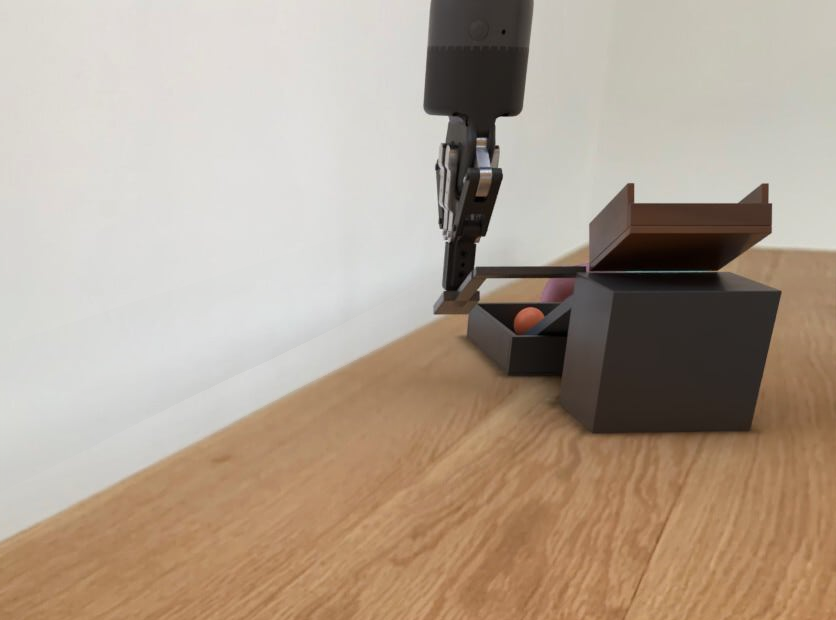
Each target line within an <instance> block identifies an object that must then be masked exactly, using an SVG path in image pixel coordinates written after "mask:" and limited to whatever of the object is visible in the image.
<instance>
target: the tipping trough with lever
mask: <svg viewBox="0 0 836 620" xmlns="http://www.w3.org/2000/svg"><path fill="white" fill-rule="evenodd" d="M769 188H770V183H769V182H765V183H760V185H758V186H757V187H756V188H755V189H753V190H752V191H751V192H750V193H749V194H747V195H746V196H745V197H743V198H742V199H741V200H740V201H738V202H635V182H627V183H626V184H625V185H624V186H623V187H622V188H621V190H619V191H618V193H617V194H616V195H615V196H614V197H613V198H612V199H610V201H609V202H608V203H607V204H606V205H605V206H604V207H603V208H602V209H601V210H600V211H599V213H598V214H597V215H596V216H595V217H594V218H593V219H592V220H591V221H590V222H589V223H588V251H589V252H588V263H589V271H590V272H625V271H708V272H719V271H720V270H721V269H723V268H724V267H726V266H727V265H728V264H730V263H731V262H733V261H734V260H736V259H737V258H738V257H740V256H741V255H743V254H744V253H746V252H747V251H749V250H750V249H751V248H753V247H754V246H756V245H757V244H759V243H760V242H761V241H762V240H764V239H765V238H767V237H768V236H770V235H771V234H772V233H773V226H772V225H773V203H772V202H769V199H770V198H769V195H770V192H769V191H770V189H769ZM577 272H586V266H575V265H567V266H563V265H541V266H540V265H535V266H534V265H530V266H527V265H525V266H524V265H523V266H522V265H517V266H516V265H514V266H512V265H511V266H509V265H507V266H506V265H505V266H503V265H502V266H497V265H495V266H486V265H485V266H484V265H483V266H480V265H479V266H474V270H473V271H471V272H470V274H469V275H468V276H467V278H466V279H465V280H464V282H463V283H462V284H461V286H460V287H459V288H458V290H457V291H446V290H443V291H442V292H441V294H440V296H439V297H438V298H437V299H436V301H435V302H434V304H433V306H432V307H433V309H432V314H433V315H435V316H437V315H438V316H439V315H440V316H442V315H445V316H446V315H447V316H448V315H453V316H454V315H469V312H470V311H471V310H472V309H473V308H474V306H475V305H476V304H477V303H480V301H481V292H480V290H479V289H480V287H481V286H482V285H483V284H484V282H485V281H486V280H487V279H549V278H576V273H577Z"/></svg>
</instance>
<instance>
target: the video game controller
mask: <svg viewBox="0 0 836 620" xmlns="http://www.w3.org/2000/svg"><path fill="white" fill-rule="evenodd" d="M562 266H568V265H566V264H563V265H562ZM574 266H586V272H590V271H589V262H582V263H580V264H576V265H574ZM625 272H627V271H625ZM547 279H548V280H547V281H546V283H545V285H544V288H543V290H542V292H541V295H540V297H539V301H538V302H564V301H565V300H566V299H568V298H569V297H570V296H571V295H573V293H574V285H575V278H547Z"/></svg>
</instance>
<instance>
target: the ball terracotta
mask: <svg viewBox="0 0 836 620" xmlns="http://www.w3.org/2000/svg"><path fill="white" fill-rule="evenodd" d="M543 318H544V315H543V313H542V312H541V311H540V310H538V309H536V308H532V307H529V308H525V309H523V310H521V311H520V312H519V313H518V314H517V316H516V318H515V320H514V330H515V333H516V334H517V335H523V334H524V333H526V332H527V331H528V330H529V329H531V328H532V327H533V326H534V325H536V324H537V323H538V322H539V321H540V320H542V319H543Z"/></svg>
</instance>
